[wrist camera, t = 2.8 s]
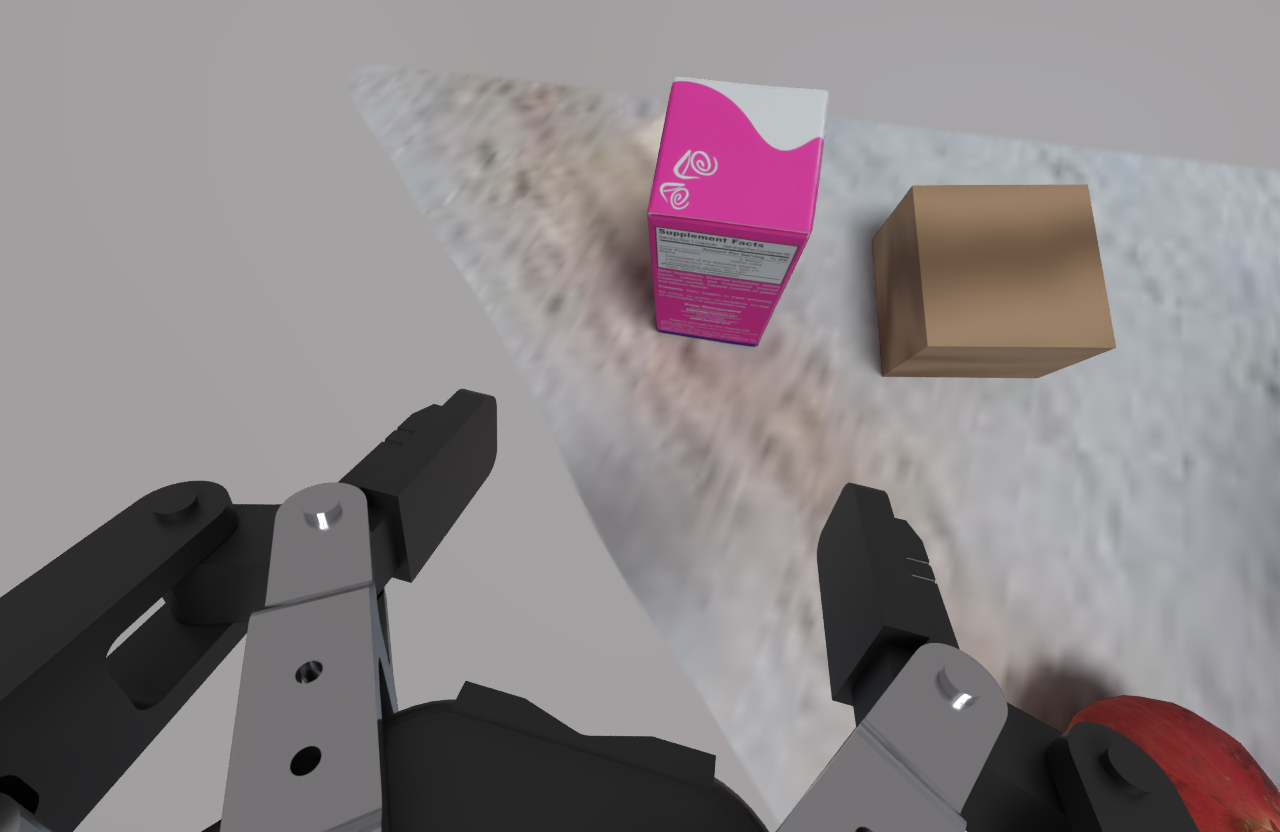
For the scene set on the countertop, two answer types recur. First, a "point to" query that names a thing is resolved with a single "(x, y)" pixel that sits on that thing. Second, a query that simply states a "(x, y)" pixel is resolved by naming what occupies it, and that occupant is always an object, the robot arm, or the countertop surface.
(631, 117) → the countertop surface
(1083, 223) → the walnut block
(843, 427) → the countertop surface
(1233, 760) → the pomegranate
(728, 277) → the supplement box
